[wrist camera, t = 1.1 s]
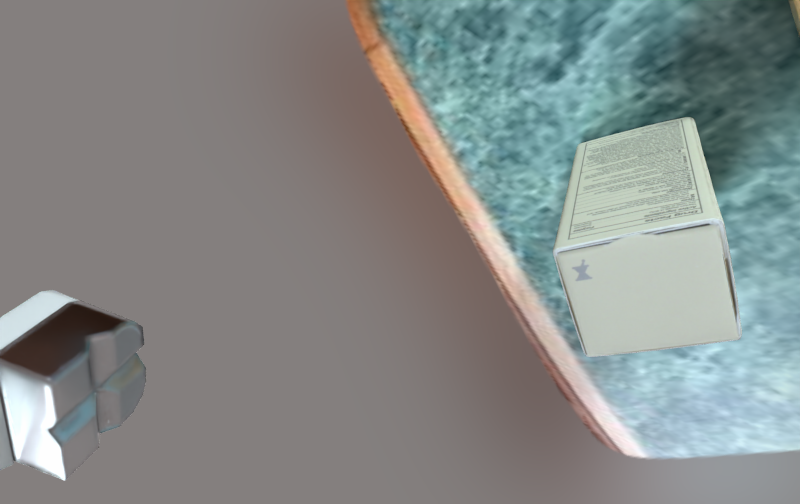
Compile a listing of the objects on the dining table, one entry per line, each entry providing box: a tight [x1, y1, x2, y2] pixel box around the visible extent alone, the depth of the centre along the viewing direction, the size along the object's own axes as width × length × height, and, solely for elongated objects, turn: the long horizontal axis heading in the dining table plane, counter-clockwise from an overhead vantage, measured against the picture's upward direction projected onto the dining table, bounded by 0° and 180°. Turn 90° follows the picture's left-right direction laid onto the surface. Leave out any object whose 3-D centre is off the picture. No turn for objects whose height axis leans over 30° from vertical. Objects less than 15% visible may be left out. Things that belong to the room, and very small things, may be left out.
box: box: [553, 117, 742, 357], centre depth 25 cm, size 5×4×11 cm
